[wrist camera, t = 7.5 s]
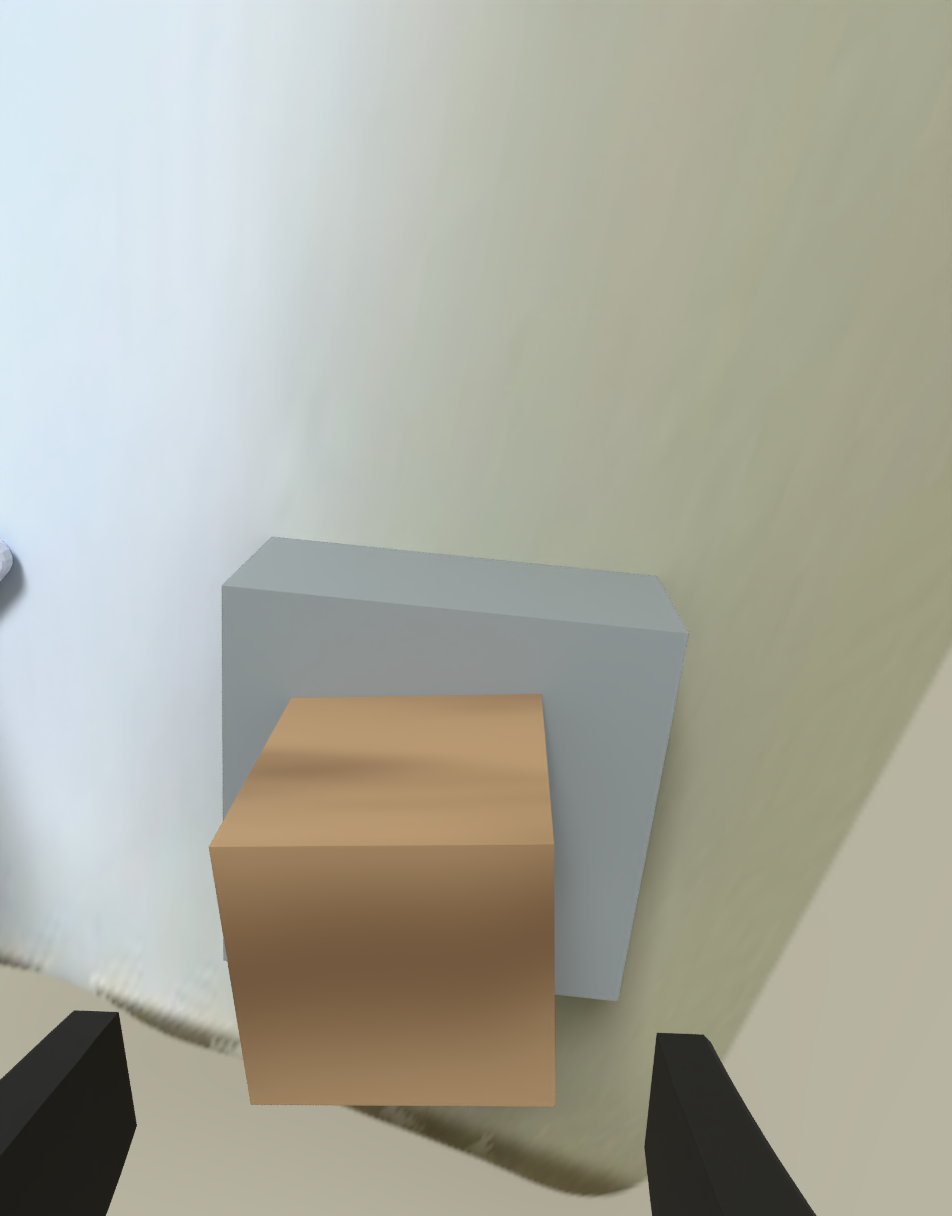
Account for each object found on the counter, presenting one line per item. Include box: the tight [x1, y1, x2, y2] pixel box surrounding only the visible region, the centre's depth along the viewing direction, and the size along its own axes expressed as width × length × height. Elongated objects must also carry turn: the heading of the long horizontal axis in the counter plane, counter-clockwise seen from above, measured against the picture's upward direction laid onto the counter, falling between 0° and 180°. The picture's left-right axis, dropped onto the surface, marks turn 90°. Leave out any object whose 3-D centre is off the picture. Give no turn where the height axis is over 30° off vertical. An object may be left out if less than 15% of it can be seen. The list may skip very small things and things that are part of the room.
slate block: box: [222, 537, 689, 1001], centre depth 20 cm, size 9×9×4 cm
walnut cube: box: [209, 694, 555, 1107], centre depth 15 cm, size 5×5×5 cm
